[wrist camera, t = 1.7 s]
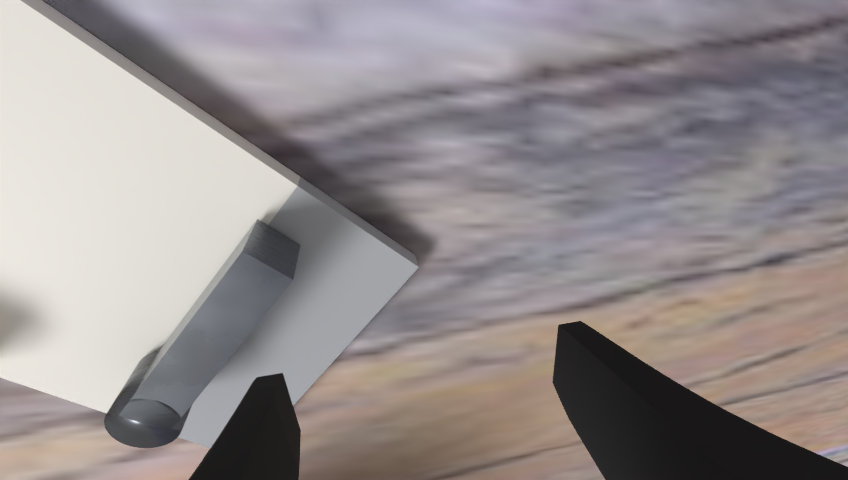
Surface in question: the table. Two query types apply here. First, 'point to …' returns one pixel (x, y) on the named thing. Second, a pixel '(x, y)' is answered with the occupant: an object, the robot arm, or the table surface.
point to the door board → (153, 229)
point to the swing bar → (203, 340)
